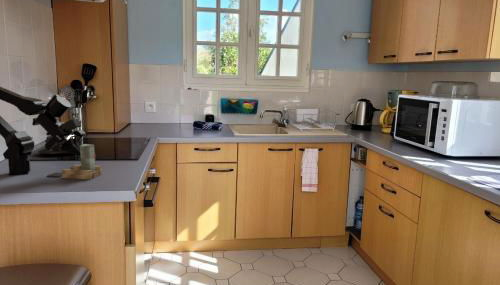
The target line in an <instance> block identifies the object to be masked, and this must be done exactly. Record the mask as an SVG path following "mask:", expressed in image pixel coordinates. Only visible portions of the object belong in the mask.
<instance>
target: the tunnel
mask: <svg viewBox="0 0 500 285" xmlns="http://www.w3.org/2000/svg"><path fill="white" fill-rule="evenodd" d="M95 170H100V175H99V176H101V175H102V166H101V165H95ZM61 173H62V179H74V180H76V179H77V180H93V178H92V170H81V163H80V164H72V167H70V168H62V169H61Z"/></svg>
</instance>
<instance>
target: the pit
mask: <svg viewBox="0 0 500 285" xmlns="http://www.w3.org/2000/svg"><path fill="white" fill-rule="evenodd" d="M46 177H47V178H61V177H62V172H53V173H50V174H47V175H46Z"/></svg>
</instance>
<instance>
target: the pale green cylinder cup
mask: <svg viewBox="0 0 500 285" xmlns="http://www.w3.org/2000/svg"><path fill="white" fill-rule="evenodd" d="M95 154H96V152H95V144H91V143H90V144H88V143H84V144H81V146H80V156H81V157H80V156H79V157H80V164H81V170H92V179H95V178H98V177H99V176H101V175H100V170H95V166H96V159H95Z"/></svg>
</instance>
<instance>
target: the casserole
mask: <svg viewBox="0 0 500 285" xmlns="http://www.w3.org/2000/svg"><path fill="white" fill-rule="evenodd" d="M51 137H52V136H51V135H49V136H46V137H45V138H46V139H45V140H44V143H46V142H47V141H48V140H49V139H50V138H51ZM83 140H84V139H83V137H82V138H81V139H80V140H79V142H78V144H79V146H81V145H82V142H83ZM60 147H61V146H60V144H57V145H55V146H54V150H52V151H48V150H47V149H46V148H45V147H44V148H43V149H40V150H38V151H37V153H40V154H45V155H59V156H60V155H64V156H65V155H73V154H72V153H69V152H66V151H63V150H59V148H60Z"/></svg>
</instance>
